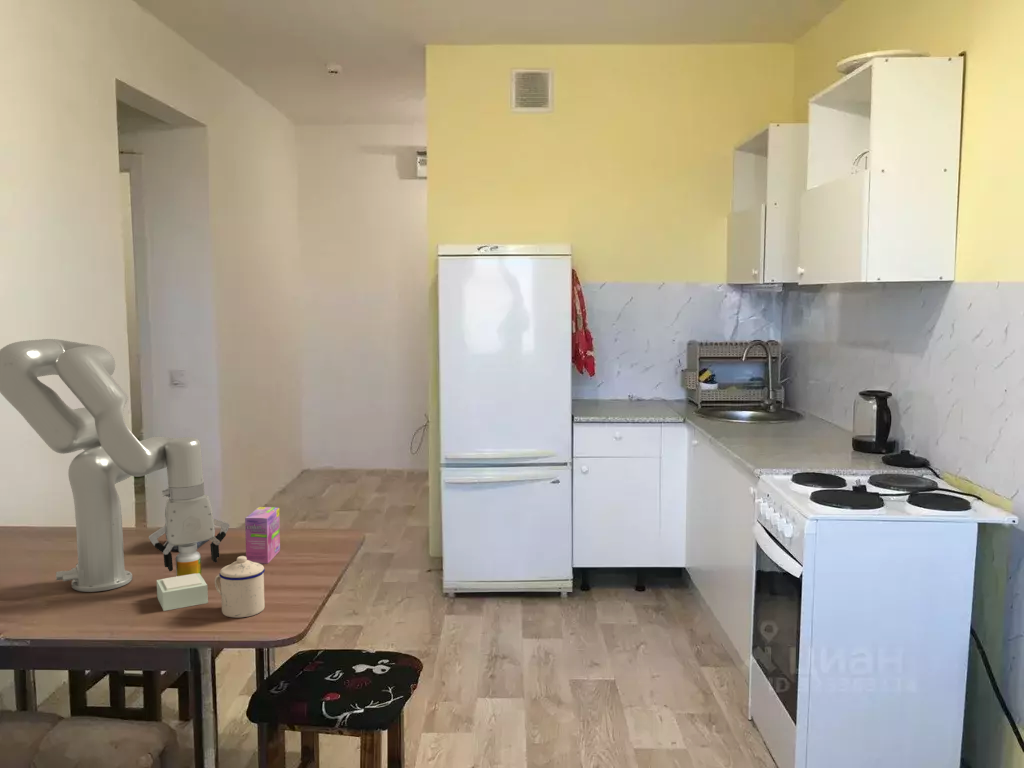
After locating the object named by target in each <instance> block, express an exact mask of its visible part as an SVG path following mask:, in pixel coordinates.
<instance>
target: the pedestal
mask: <svg viewBox="0 0 1024 768" xmlns="http://www.w3.org/2000/svg"><path fill="white" fill-rule="evenodd" d="M201 575H202V574H201ZM201 575H200V573H197V574H196V573H195V574H189V575H183V576H177V577H176V576H171V577H166V578H161V579H156V595H157V596H156V597H157V600H158V602H159V604H160V606H161V608H162V611H163V612H165V611H171V610H175V609H176V610H178V609H183V608H186V607H187V608H188V607H194V606H197V605H205V604H208V603H209V596H208V595H209V592H208V589H209V588H208V584H207V583H206V581H205V579H204V578H203V576H201Z"/></svg>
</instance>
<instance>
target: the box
mask: <svg viewBox="0 0 1024 768" xmlns="http://www.w3.org/2000/svg"><path fill="white" fill-rule="evenodd" d="M244 530H245V532H244V533H245V557H246V558H247V560H249V561H252V562H256V563H259V564H261V565H268V564H270V562H271V561H272V560H273V559H274V558H275V557H276V556H277V555H278V554H279V552H280V551H281V538H280V535H281V534H280V507H276V506H274V507H273V506H267V507H266V506H259V507H257V508H255V510H253V511H252V512H251V513H250V514H248V515H247V516H246V517H245V518H244Z"/></svg>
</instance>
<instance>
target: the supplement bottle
mask: <svg viewBox="0 0 1024 768" xmlns="http://www.w3.org/2000/svg"><path fill="white" fill-rule="evenodd" d="M197 550H198V549H197V543H189V544H183V545H178V551H177V552H178V554H177V555H175V571H176V572H175V574H176V576H175V577H177V576H183V575H189V574H195V573H196V574H197V573H200V575H201V576H202V559H201V558H202V557H201V556H202V554H201V553H200V552H199V551H197ZM202 577H203V576H202Z"/></svg>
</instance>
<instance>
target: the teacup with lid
mask: <svg viewBox="0 0 1024 768" xmlns="http://www.w3.org/2000/svg"><path fill="white" fill-rule="evenodd" d="M265 571H266V570H265V567H264V564H259V563H256V562H252V561H249V560H247V558H246V555H240V556H237V558H236V561H234V562H232V563H231V564H228V565H225V566H223V567H222V568H221V569H220V571H219V574H217V575H216V576H215V578H214V587H215V589H216V591H217V593H218V594H219V595H220V596H221V613H222V615H224V616H225V617H229V618H238V619H239V618H247V617H252V616H255V615H259V614H260V613H262V612H263V611H264V609H265V605H266V604H265V603H266V602H265Z"/></svg>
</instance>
